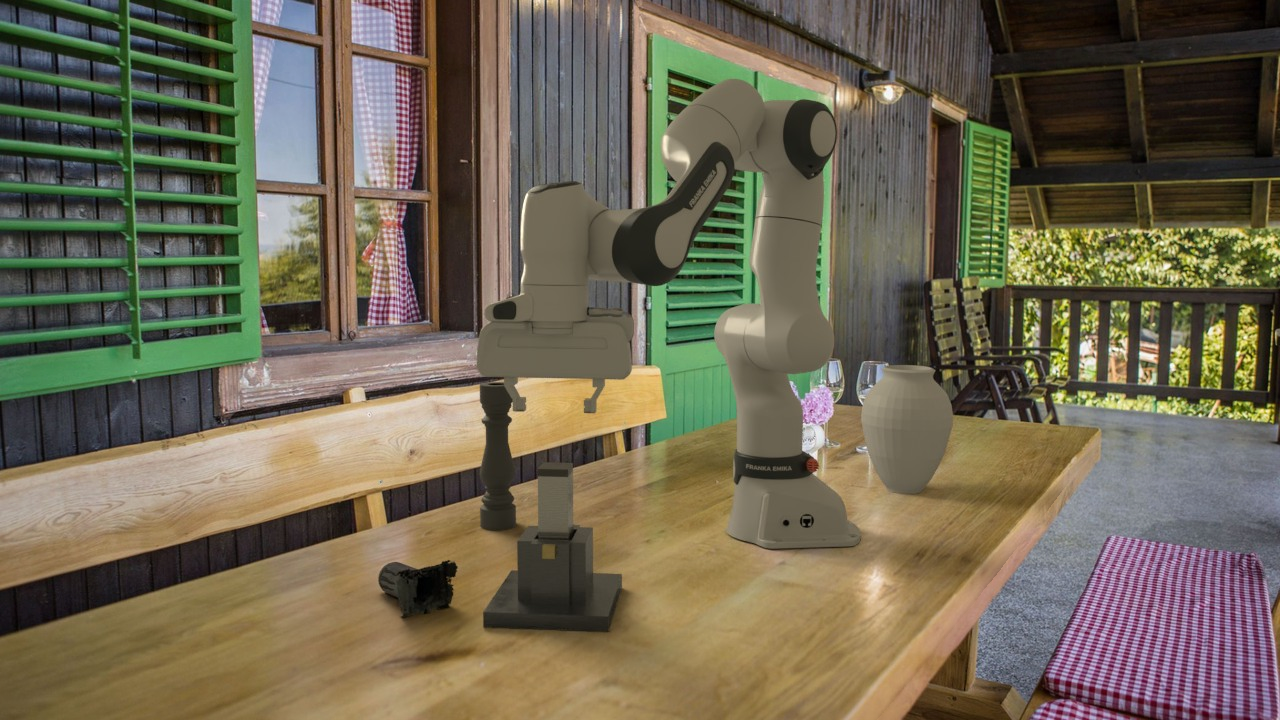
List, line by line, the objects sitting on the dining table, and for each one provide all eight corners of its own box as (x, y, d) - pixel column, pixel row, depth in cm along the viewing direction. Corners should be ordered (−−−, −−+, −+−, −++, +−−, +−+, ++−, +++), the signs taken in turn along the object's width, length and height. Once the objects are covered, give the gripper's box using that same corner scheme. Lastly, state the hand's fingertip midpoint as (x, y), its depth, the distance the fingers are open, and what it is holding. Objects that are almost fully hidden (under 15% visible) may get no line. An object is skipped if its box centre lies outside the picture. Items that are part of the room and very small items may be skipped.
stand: (621, 587, 134) (621, 519, 133) (608, 631, 118) (608, 554, 117) (511, 583, 135) (510, 516, 134) (483, 627, 119) (482, 550, 118)
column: (574, 584, 128) (574, 462, 126) (569, 596, 124) (568, 469, 122) (543, 583, 129) (542, 462, 127) (537, 594, 124) (536, 469, 122)
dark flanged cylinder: (453, 617, 126) (409, 598, 135) (460, 560, 127) (416, 544, 136) (392, 622, 120) (350, 602, 129) (400, 562, 121) (357, 545, 129)
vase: (852, 495, 186) (856, 370, 183) (866, 476, 202) (869, 361, 199) (946, 504, 179) (951, 374, 176) (953, 484, 195) (957, 365, 193)
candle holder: (509, 531, 161) (507, 387, 158) (475, 529, 162) (472, 386, 160) (520, 521, 167) (519, 382, 164) (487, 519, 168) (485, 381, 166)
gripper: (636, 307, 124) (635, 410, 126) (485, 304, 126) (485, 406, 128) (631, 309, 118) (630, 417, 120) (472, 307, 120) (473, 413, 121)
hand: (554, 411), depth 124 cm, fingers open, 8 cm apart
